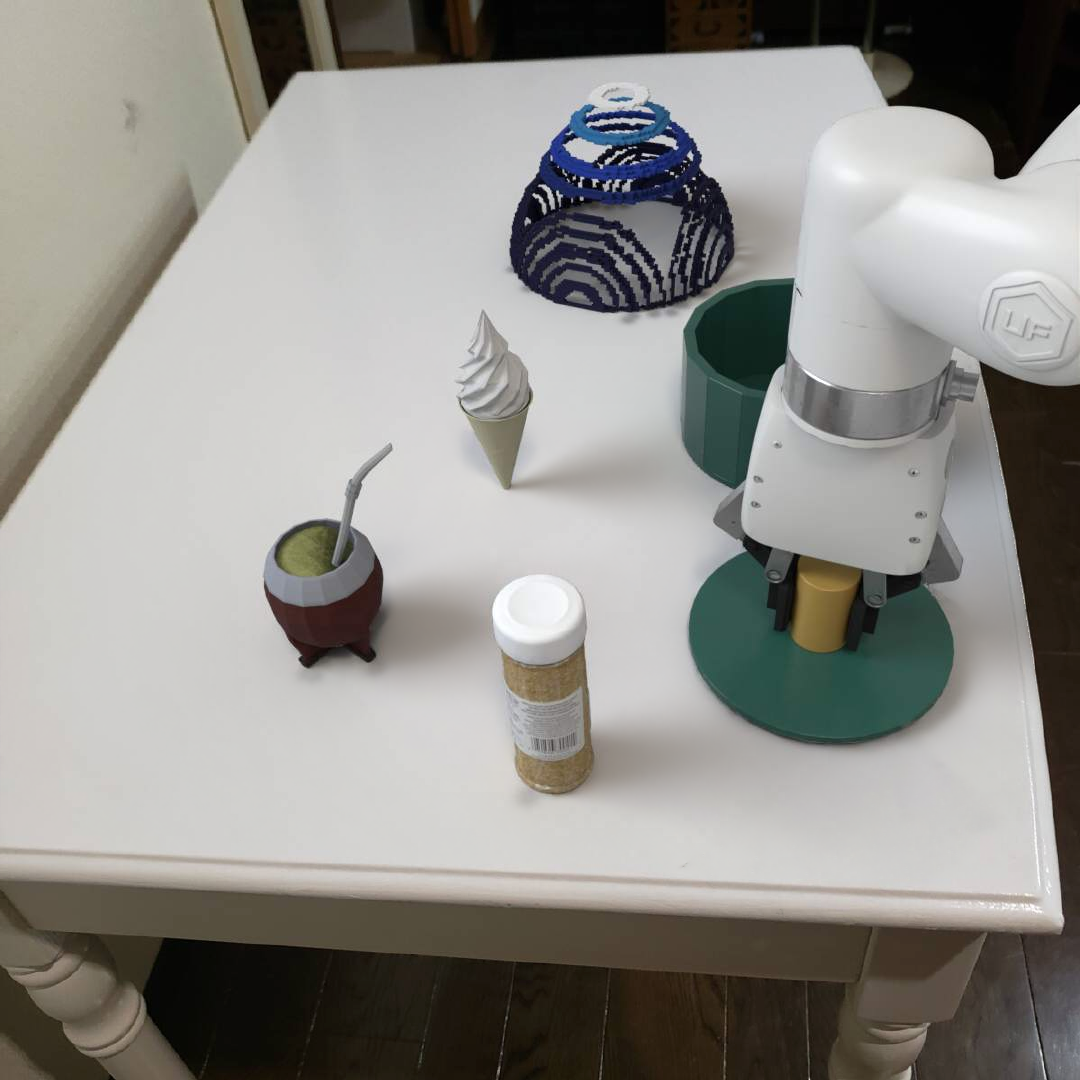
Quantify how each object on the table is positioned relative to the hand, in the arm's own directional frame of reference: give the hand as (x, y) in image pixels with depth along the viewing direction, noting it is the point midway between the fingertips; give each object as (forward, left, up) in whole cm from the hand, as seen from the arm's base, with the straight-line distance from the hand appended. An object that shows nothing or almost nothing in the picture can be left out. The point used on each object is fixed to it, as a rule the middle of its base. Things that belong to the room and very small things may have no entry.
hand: (820, 622), depth 67 cm
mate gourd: (+28, +9, -2) cm, 29 cm away
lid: (0, 0, -1) cm, 1 cm away
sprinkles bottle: (+12, +14, -2) cm, 18 cm away
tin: (+7, -19, -2) cm, 20 cm away
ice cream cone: (+24, -7, -2) cm, 25 cm away
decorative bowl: (+27, -40, -2) cm, 48 cm away
